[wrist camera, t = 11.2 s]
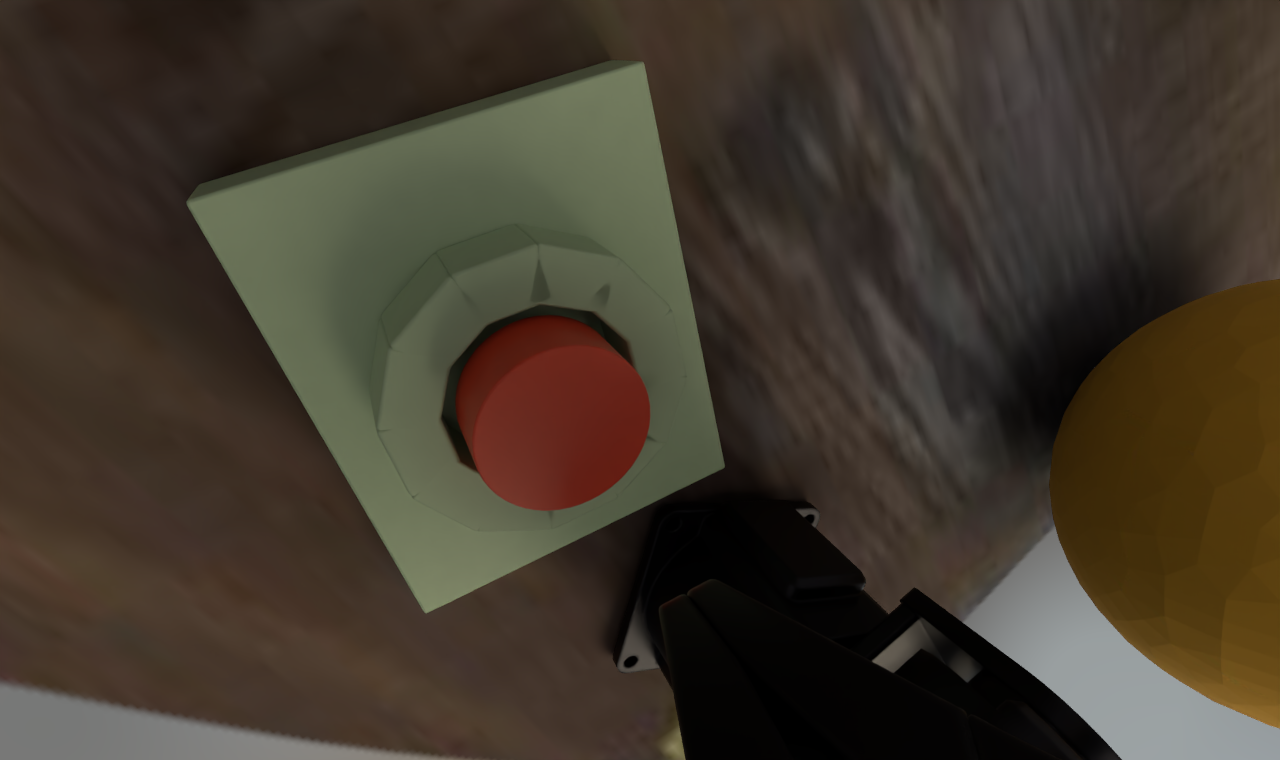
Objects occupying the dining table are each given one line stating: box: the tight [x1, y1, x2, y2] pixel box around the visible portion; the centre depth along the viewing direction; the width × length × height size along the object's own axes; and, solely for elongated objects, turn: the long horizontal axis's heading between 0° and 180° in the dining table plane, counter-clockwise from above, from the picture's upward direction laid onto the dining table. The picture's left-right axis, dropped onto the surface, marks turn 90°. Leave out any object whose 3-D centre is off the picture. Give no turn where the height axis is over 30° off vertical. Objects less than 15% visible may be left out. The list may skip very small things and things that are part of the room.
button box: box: [186, 60, 725, 613], centre depth 16 cm, size 11×9×4 cm
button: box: [455, 315, 650, 511], centre depth 14 cm, size 4×4×2 cm
